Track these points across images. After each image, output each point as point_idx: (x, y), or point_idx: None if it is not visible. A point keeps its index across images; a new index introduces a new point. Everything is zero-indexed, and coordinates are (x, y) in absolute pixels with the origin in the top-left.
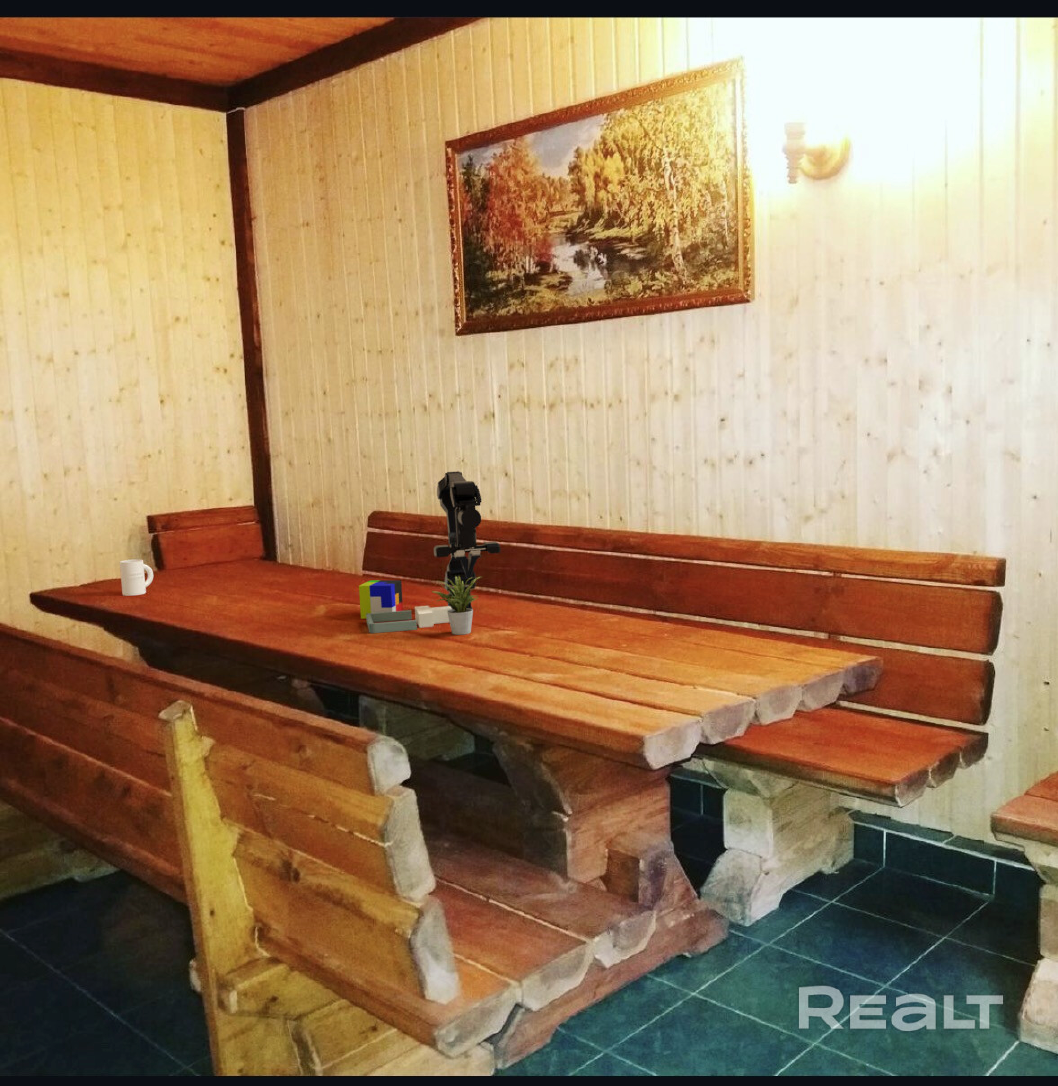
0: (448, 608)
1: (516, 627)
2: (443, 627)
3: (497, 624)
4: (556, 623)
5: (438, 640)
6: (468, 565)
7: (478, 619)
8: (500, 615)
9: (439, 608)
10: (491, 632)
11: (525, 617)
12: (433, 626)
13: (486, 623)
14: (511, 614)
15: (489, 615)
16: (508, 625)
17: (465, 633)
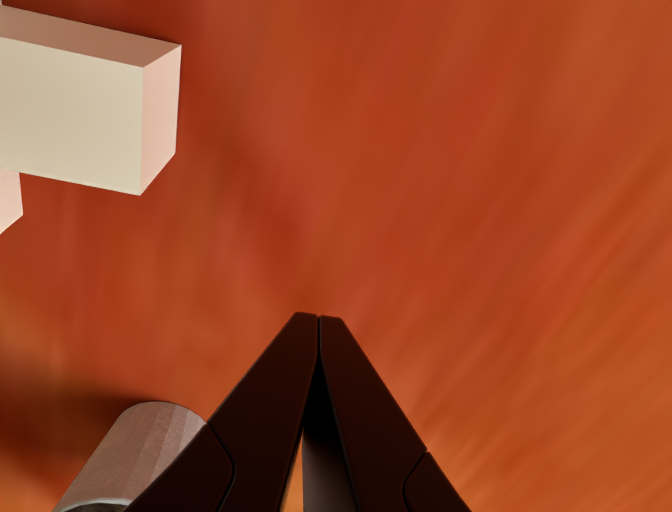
0: (110, 182)
1: (449, 460)
2: (87, 276)
3: (406, 363)
4: (649, 477)
5: (36, 502)
6: (340, 498)
7: (375, 165)
8: (583, 117)
9: (25, 127)
10: (301, 486)
11: (655, 281)
12: (21, 215)
13: (365, 310)
14: (667, 131)
15: (519, 62)
16: (442, 410)
17: None
